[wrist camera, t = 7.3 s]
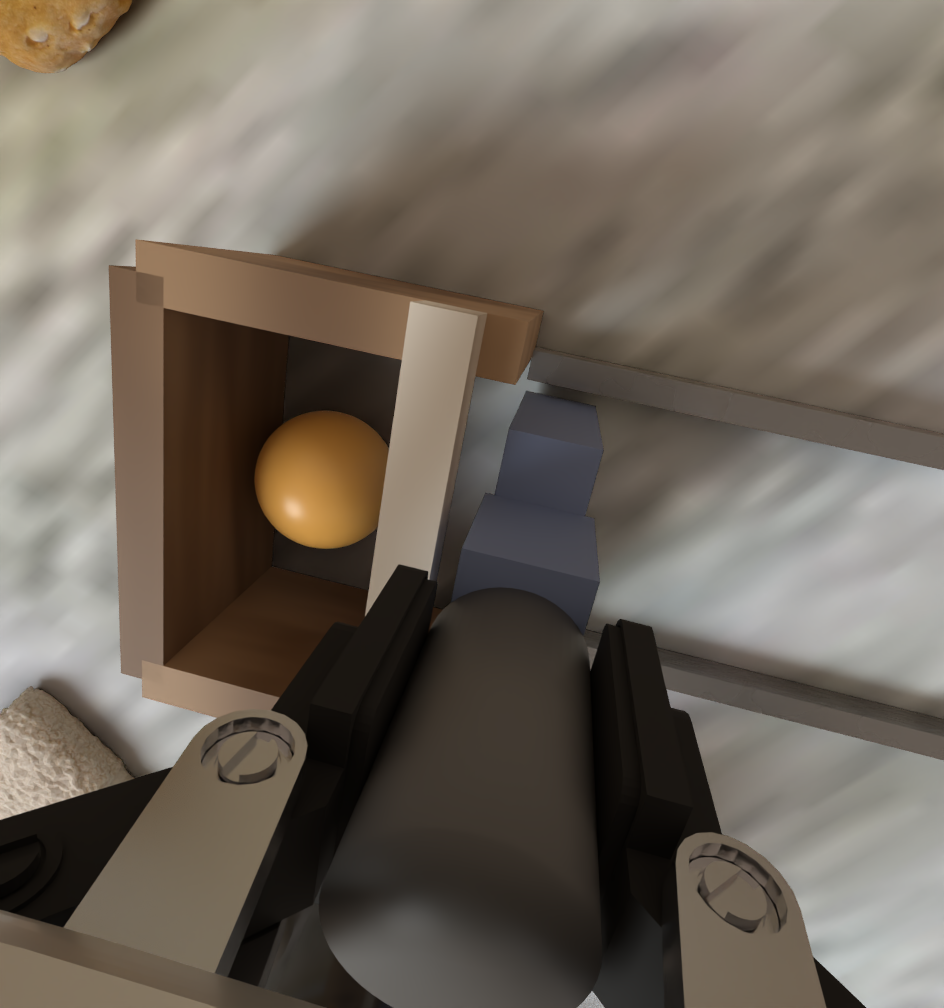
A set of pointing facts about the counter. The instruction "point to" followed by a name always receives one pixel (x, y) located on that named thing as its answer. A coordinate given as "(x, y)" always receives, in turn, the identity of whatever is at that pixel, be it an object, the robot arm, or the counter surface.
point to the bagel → (54, 30)
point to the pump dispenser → (314, 968)
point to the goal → (239, 439)
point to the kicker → (490, 760)
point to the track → (790, 421)
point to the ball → (322, 479)
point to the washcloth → (49, 755)
